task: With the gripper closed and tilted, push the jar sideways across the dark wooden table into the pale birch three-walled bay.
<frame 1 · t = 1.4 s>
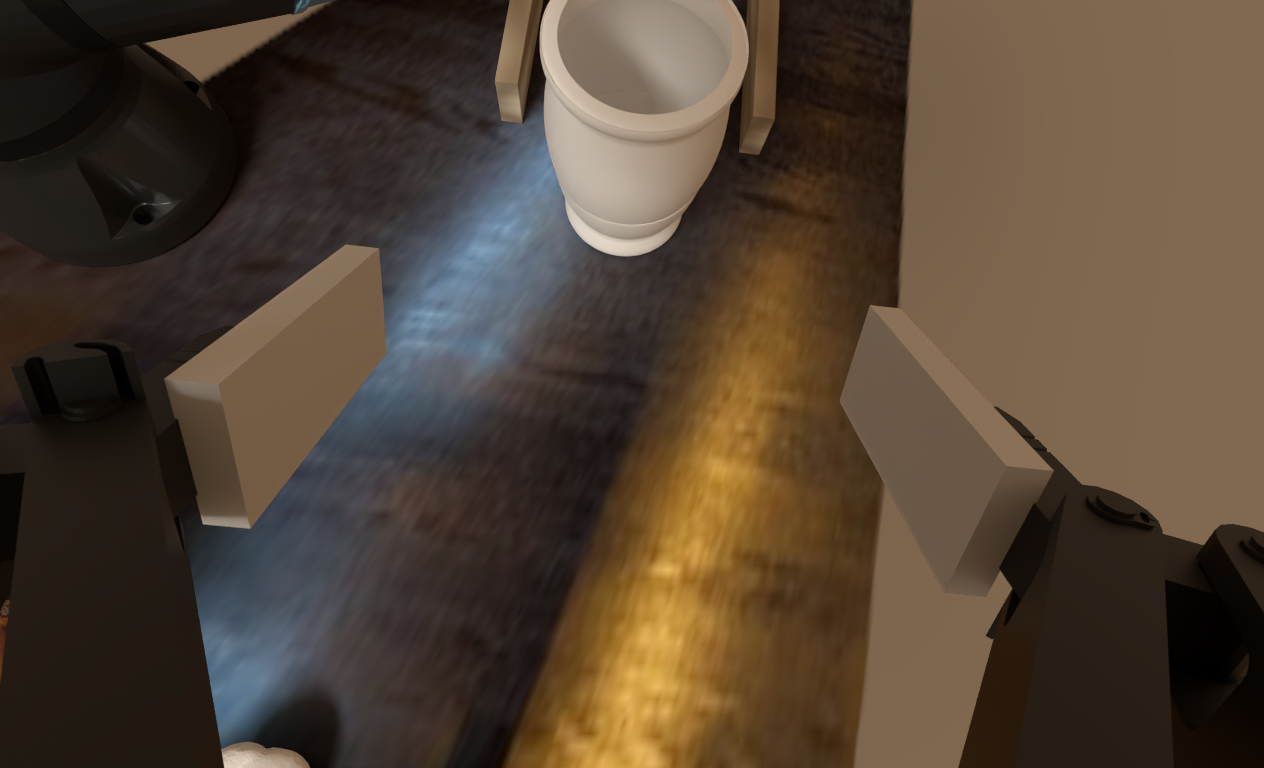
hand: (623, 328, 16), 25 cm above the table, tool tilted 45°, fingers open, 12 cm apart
bay: (640, 54, 49), on the table
candy box: (33, 688, 35), on the table
jar: (624, 205, 46), on the table
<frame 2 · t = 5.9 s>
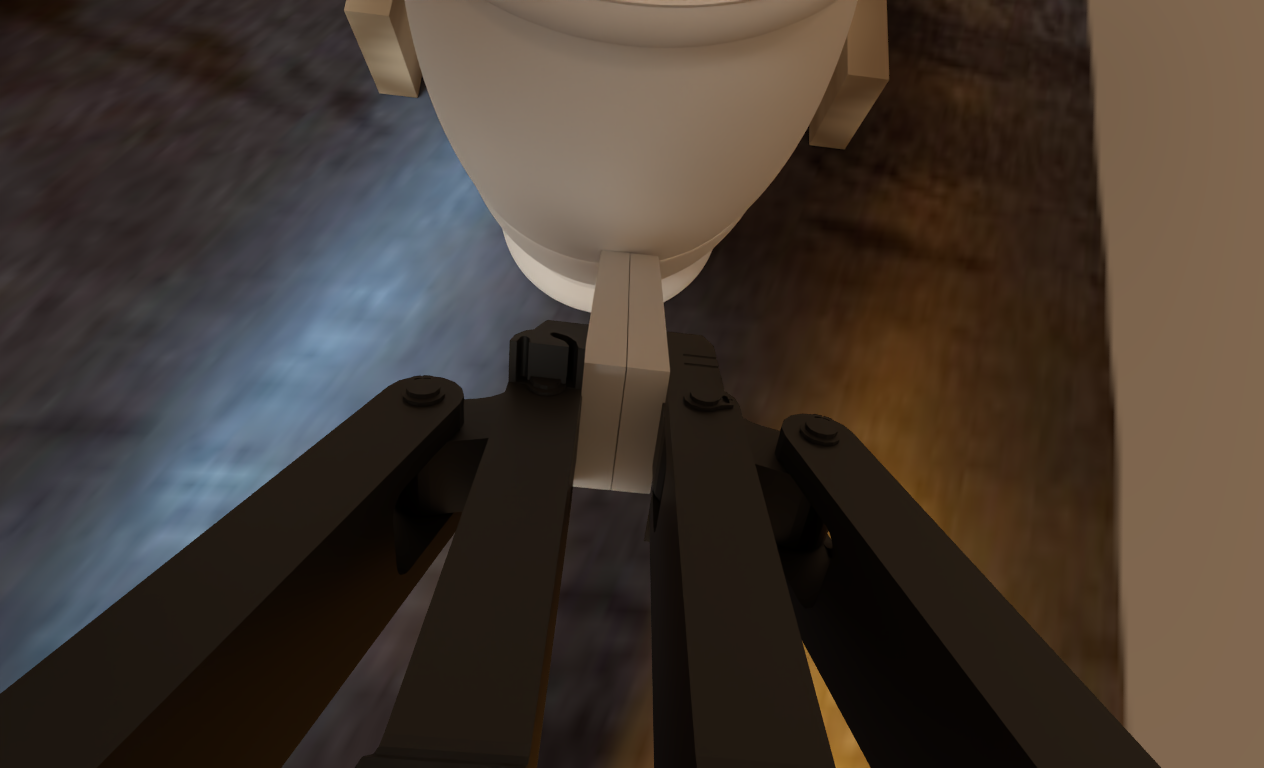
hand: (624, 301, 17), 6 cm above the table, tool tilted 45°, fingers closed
jar: (610, 218, 25), on the table, touching gripper
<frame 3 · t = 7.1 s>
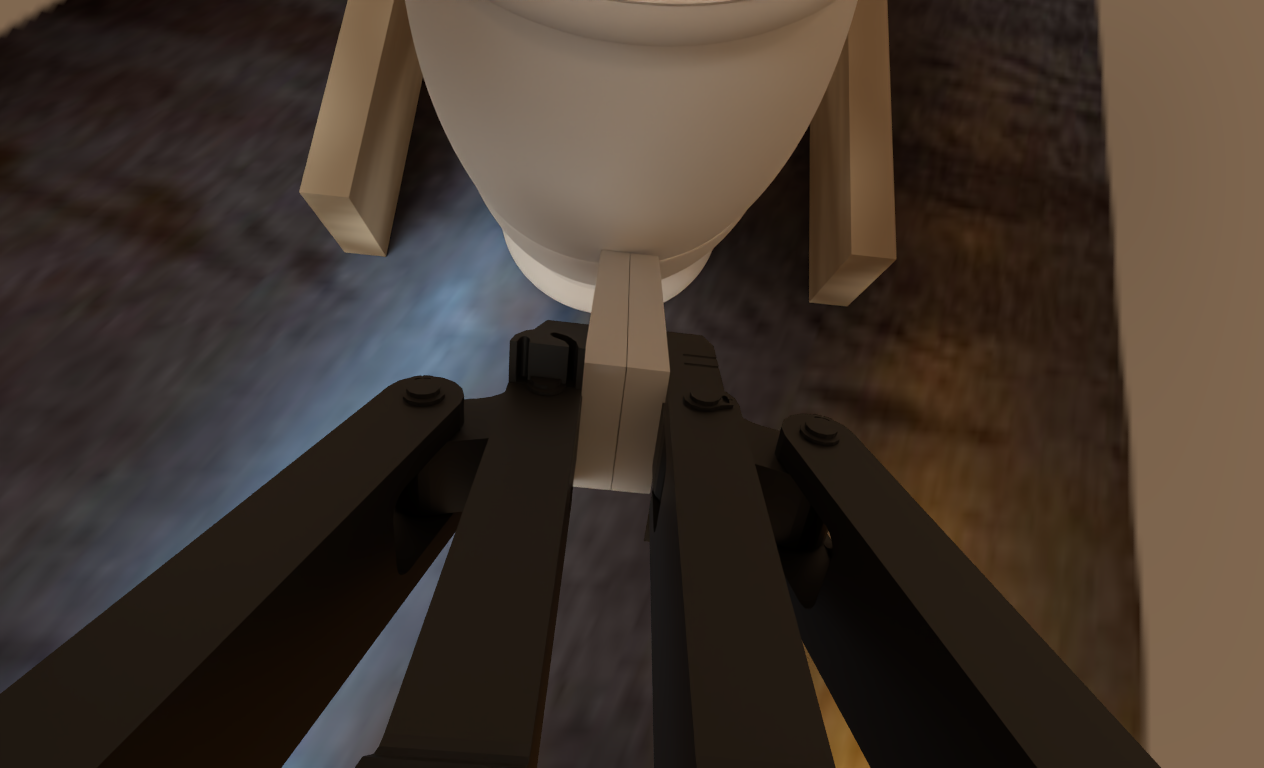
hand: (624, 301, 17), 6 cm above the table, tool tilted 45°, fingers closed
bay: (618, 112, 26), on the table
jar: (610, 218, 25), on the table, touching gripper
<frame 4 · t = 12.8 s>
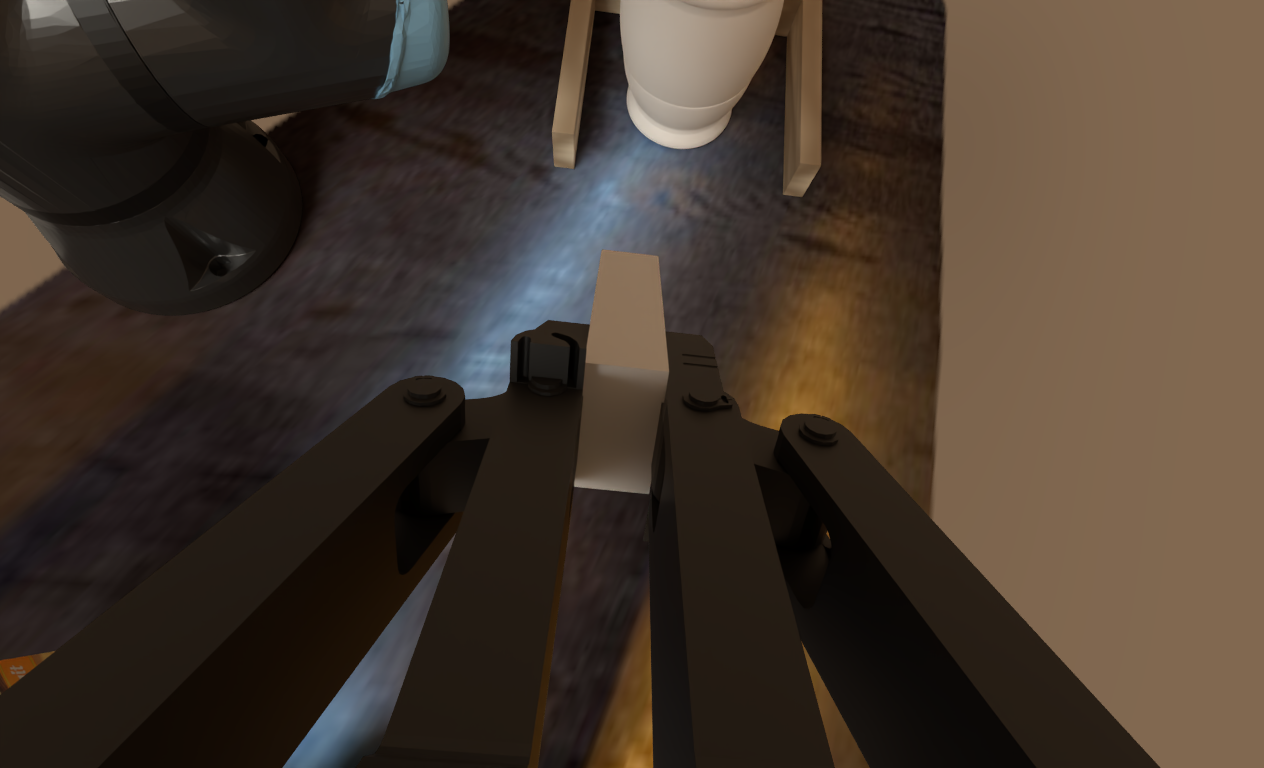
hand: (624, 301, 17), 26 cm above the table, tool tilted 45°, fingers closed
bay: (685, 99, 51), on the table
candy box: (125, 727, 36), on the table
jar: (678, 106, 51), on the table
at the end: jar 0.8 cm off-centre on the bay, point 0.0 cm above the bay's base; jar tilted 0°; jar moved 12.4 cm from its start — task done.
